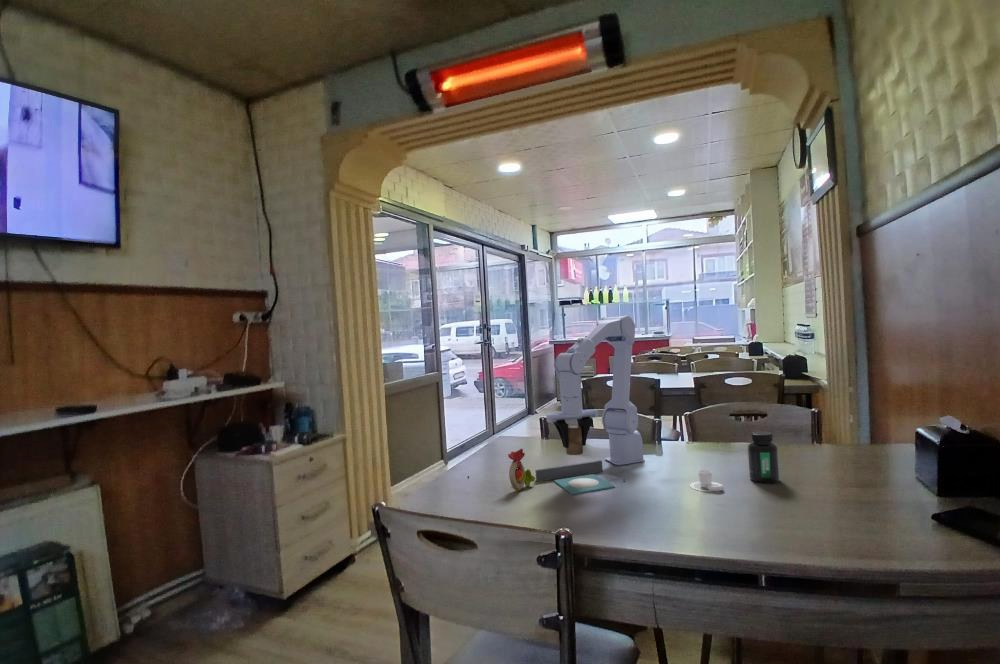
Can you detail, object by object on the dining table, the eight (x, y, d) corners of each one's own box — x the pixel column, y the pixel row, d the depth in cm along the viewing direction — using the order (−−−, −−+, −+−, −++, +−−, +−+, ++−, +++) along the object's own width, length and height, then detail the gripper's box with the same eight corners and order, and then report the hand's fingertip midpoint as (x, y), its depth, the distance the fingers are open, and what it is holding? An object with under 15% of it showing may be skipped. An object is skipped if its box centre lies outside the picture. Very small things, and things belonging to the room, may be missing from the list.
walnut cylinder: (578, 450, 145) (577, 425, 145) (585, 453, 141) (584, 428, 140) (563, 452, 144) (562, 427, 144) (570, 455, 139) (568, 429, 139)
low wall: (601, 470, 150) (600, 460, 150) (602, 471, 149) (602, 460, 149) (536, 480, 144) (535, 469, 144) (537, 481, 144) (536, 470, 143)
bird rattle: (529, 499, 135) (538, 476, 143) (521, 466, 131) (530, 444, 139) (507, 498, 138) (517, 475, 145) (498, 465, 133) (509, 444, 141)
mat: (593, 475, 146) (593, 473, 146) (614, 487, 134) (614, 485, 134) (554, 481, 142) (554, 479, 142) (572, 494, 131) (571, 492, 131)
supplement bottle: (772, 485, 127) (769, 437, 127) (744, 480, 133) (742, 433, 133) (784, 479, 132) (781, 432, 132) (757, 474, 137) (754, 429, 137)
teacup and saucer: (727, 494, 125) (726, 477, 125) (693, 494, 126) (692, 477, 126) (720, 483, 133) (719, 467, 133) (687, 483, 135) (686, 467, 135)
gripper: (589, 392, 148) (592, 439, 148) (541, 397, 144) (544, 446, 144) (600, 395, 141) (603, 444, 141) (550, 400, 137) (553, 451, 137)
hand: (574, 445), depth 142 cm, fingers closed on walnut cylinder, 4 cm apart
